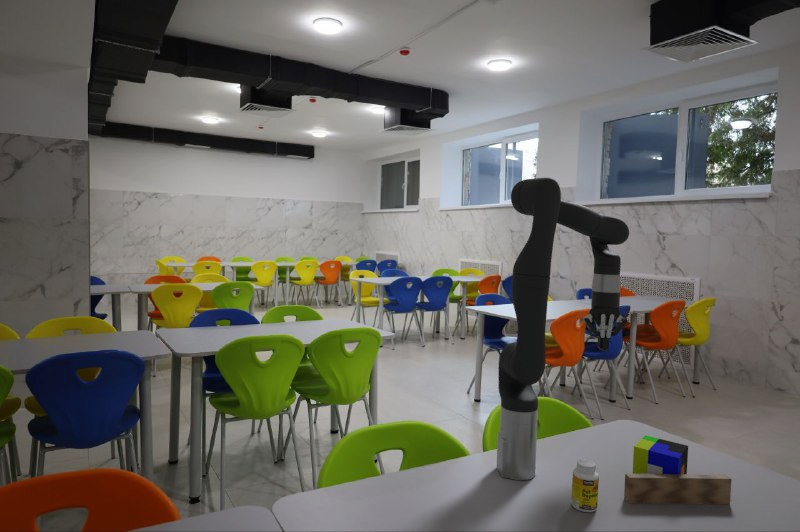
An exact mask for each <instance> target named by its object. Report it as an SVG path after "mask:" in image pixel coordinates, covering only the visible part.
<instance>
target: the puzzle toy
mask: <svg viewBox="0 0 800 532" xmlns="http://www.w3.org/2000/svg"><path fill="white" fill-rule="evenodd" d="M632 456H633V457H632V458H633V459H632V474H688V462H689V461H688V458H689V445H687V444H683V443H678V442H675V441H671V440H665V439H662V438H657V437H654V436H649V435H646V434H645V435H644V436H643V437H642V438H641V439H640V440H639V441H638V442H636V444H634V445H633V455H632Z"/></svg>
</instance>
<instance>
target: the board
mask: <svg viewBox="0 0 800 532" xmlns="http://www.w3.org/2000/svg"><path fill="white" fill-rule="evenodd" d="M731 492H732V478H731V477H730V476H729V475H727V474H691V473H690V474H688V473H687V474H633V473H625V475H624V492H623V493H624V494H623V500H625V502H626V503H628V504H670V505H671V504H673V505H674V504H681V505H682V504H684V505H685V504H687V505H688V504H689V505H691V504H692V505H697V504H698V505H730V504H731V496H732V495H731Z"/></svg>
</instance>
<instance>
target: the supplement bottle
mask: <svg viewBox="0 0 800 532" xmlns="http://www.w3.org/2000/svg"><path fill="white" fill-rule="evenodd" d="M596 470H597V466H596V463H595V462H594V461H592V460H589V459H583V458H582V459H578V460H577V461H576V467H575V468H574V469H573V470H572V485H571V498H570V500H571V501H570V502H571V506H572V507H573V508H574V509H576V510H577V511H580V512H583V513H593V512H595V511H596V510H597V508H598V498H599V479H600V474H599V472H598V471H596Z"/></svg>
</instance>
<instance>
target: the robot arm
mask: <svg viewBox="0 0 800 532" xmlns="http://www.w3.org/2000/svg"><path fill="white" fill-rule="evenodd" d="M510 201H511V205H512V206H513V207H512V208H513V209H514V210H515V211H516V212H518V213H519V214H521V215H525V216H530V217H531V216H532V217H533V218H532V224H531V230H530V234H529V236H528V239H527V241H526V242H525V245H524V246H523V247H522V249H521V251H520V252H519V254H518V256H517V257H516V260H515V262H514V264H513V268H512V275H511V288H510V289H511V290H510V291H511V293H510V294H511V300H512V305H513V309H514V312H515V317H516V323H517V335H516V336H517V337H516V342H511V343H507V345H505V346H504V347H503V348H502V350H501V351H500V355H499V359H498V393H499V394H498V395H499V397H500V425H499V427H500V428H499V431H497V445H496V446H497V448H496V468H497V471H498V473H499V474H500V477H501V478H507V479H511V480H515V481H528V480H531V479H533V478H534V477H536V468H537V467H536V462H537V461H536V460H537V459H536V458H537V441H538V440H537V439H538V438H537V437H538V436H537V435H538V415H539V414H538V413H539V399H538V396H537V394H536V393H535V391H534V389H533V385H535V384H537V383H538V382H539V381H540V380H541V379H542V377H543V376H544V373H545V369H546V356H547V355H546V327H547V326H546V324H547V313H548V300H549V293H550V284H551V283H550V282H551V271H552V270H551V269H552V257H553V250H554V242H555V234H556V231H557V224H559V225H560V226H563V227H565V228H568V229H569V230H570V229H571V230H572V231H574V232H576V233H578V234H581V235H583V236H587V237H588V238H589V242H590V247H591V251H592V256H593V261H594V263H593V277H592V283H591V299H590V300H591V304H590V305H591V307H590V310H589V313H588V314H587V315H586V316H582V317H581V320H582V322H583V323H584V326H586V327H587V329H588V330H589V332H590V333H591V334H592V335H594V336H596V337H597V342H596V343H597V348H598V349H599V351H602V352H607V351H608V349H609V348H610V339H611V337H616V336H617V335H618V334H619V333H620V331H621V330H622V329H623V328H624V326H625V325H627V323H628V319H627V318H625V317H623V316H622V315H621V311H620V306H621V305H620V304H621V303H620V302H621V284H622V283H621V265H622V263H621V262H622V261H621V259H622V258H621V256H620V255H619V254H617V253H615V252H611V251H610V249H609V247H608V245H609V246H617V245H622V244H624V243H625V242H626V241H627V240H628V238H629V236H630V229H629V226H628V224H627V223H626V222H624V220H622V219H621V218H618V217H614V216H612V215H605V214H604V213H603V214H602V213H599V212H597V211H596V210H593V209H592V208H590V207H587V206H585V205H583V204H579V203H575V202H572V201H567V200H563V199H562V192H561V187H560V185H559V183H558V181H557V180H556V179H554V178H553V177H536V178H527V179H523V180H520V181H518V182H517V183H516V184H515V185H513V187H512V190H511V192H510ZM593 321H594V323H595V325H594V324H593V323H592V322H593Z"/></svg>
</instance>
